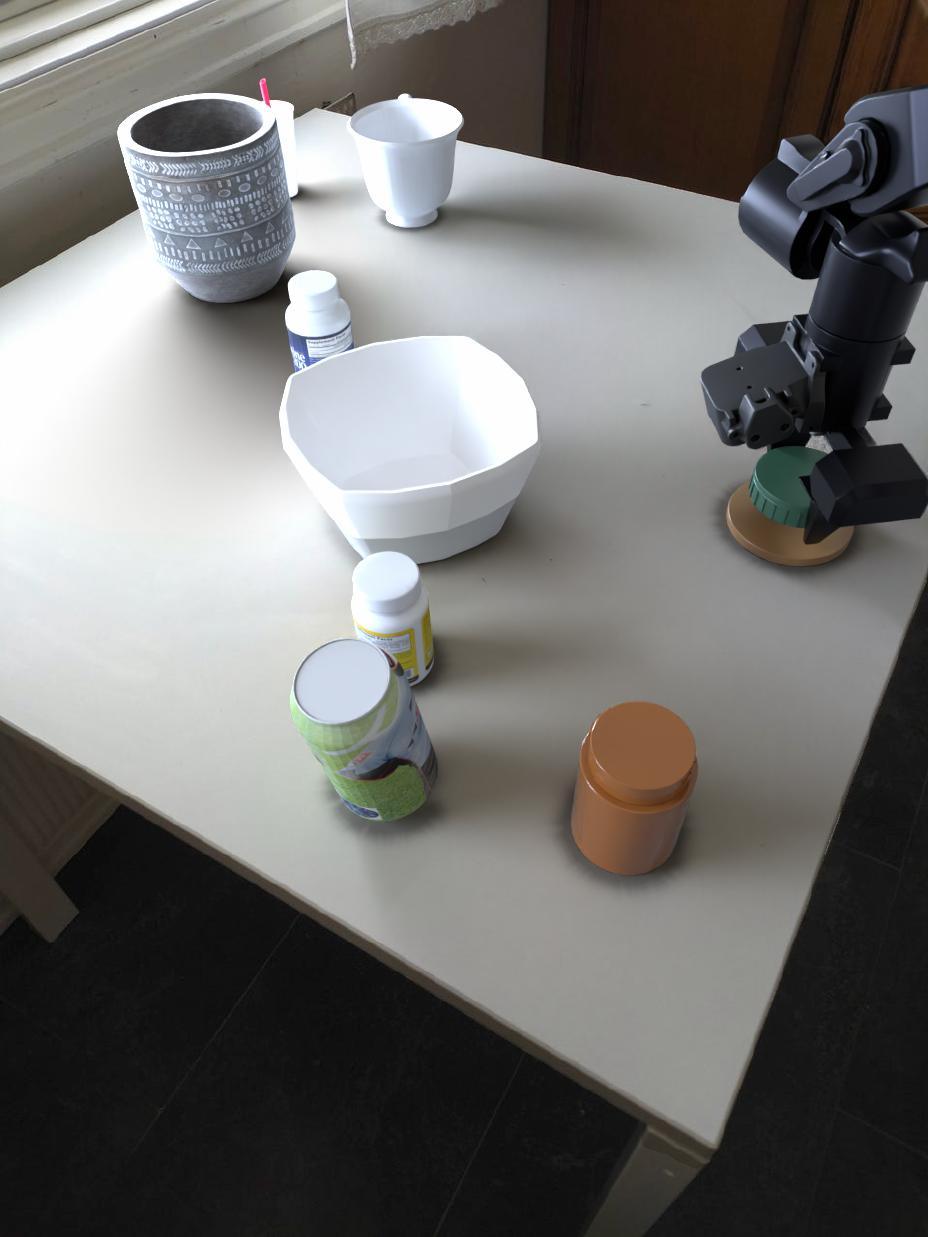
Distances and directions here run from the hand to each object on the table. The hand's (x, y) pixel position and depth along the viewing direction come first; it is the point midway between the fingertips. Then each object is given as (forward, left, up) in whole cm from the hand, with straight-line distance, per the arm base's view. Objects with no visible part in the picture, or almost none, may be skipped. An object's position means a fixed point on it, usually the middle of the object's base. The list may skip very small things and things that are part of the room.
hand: (792, 509), depth 66 cm
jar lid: (0, 0, +3) cm, 3 cm away
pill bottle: (+41, -4, -2) cm, 41 cm away
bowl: (+27, +8, -2) cm, 28 cm away
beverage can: (+19, +31, -2) cm, 36 cm away
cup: (+64, -36, -2) cm, 73 cm away
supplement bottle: (+22, +22, -2) cm, 31 cm away
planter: (+59, -17, -2) cm, 61 cm away
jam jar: (+5, +28, -1) cm, 29 cm away
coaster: (0, 0, -1) cm, 1 cm away
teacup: (+48, -37, -2) cm, 60 cm away
